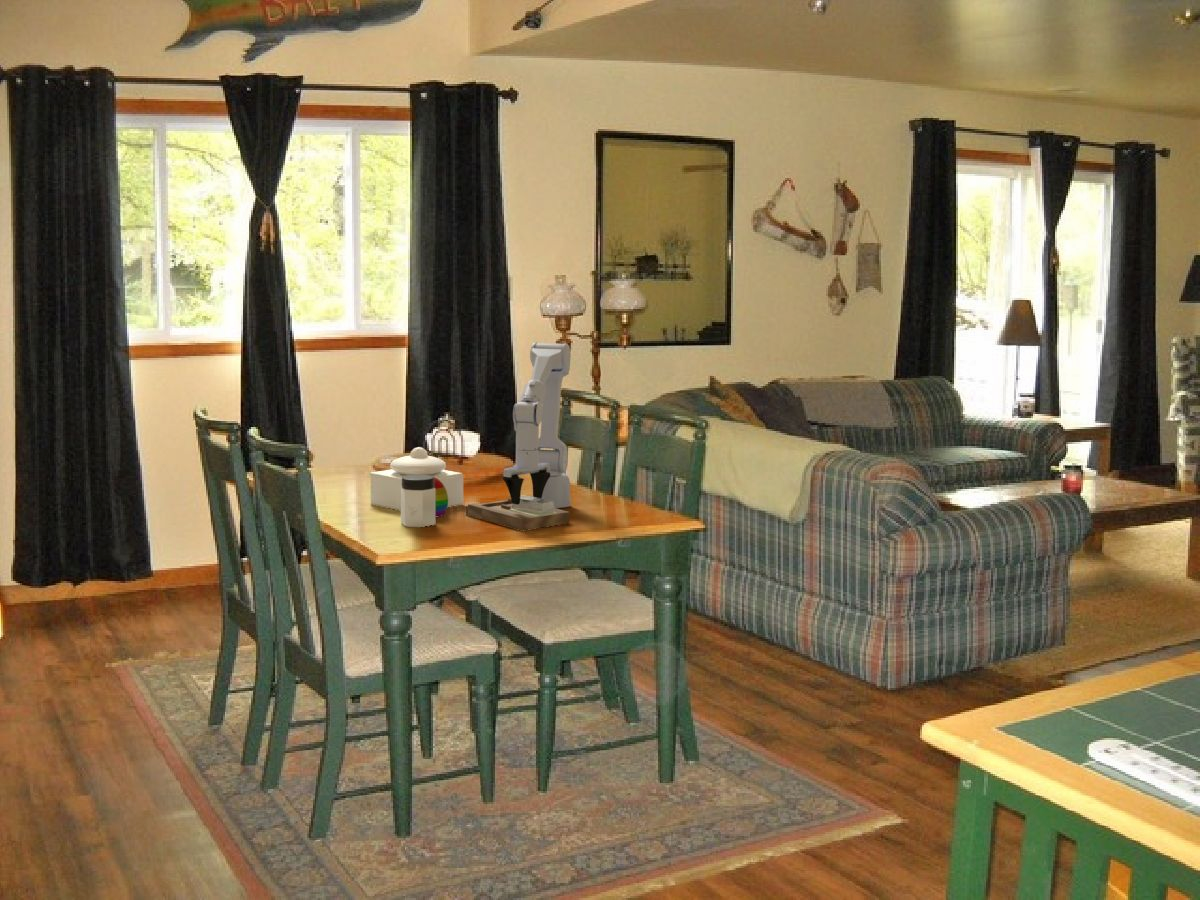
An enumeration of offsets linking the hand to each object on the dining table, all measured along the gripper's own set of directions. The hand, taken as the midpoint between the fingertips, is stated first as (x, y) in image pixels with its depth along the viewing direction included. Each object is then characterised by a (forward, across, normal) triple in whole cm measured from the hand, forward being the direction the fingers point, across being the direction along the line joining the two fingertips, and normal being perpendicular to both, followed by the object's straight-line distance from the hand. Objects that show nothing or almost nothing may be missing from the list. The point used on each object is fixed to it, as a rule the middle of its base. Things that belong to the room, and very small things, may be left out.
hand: (526, 501), depth 338 cm
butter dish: (+6, +6, -36) cm, 37 cm away
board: (+5, 0, -4) cm, 7 cm away
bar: (+2, 0, +2) cm, 3 cm away
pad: (+2, 0, +3) cm, 4 cm away
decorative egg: (+6, +12, -22) cm, 26 cm away
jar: (+5, +22, -16) cm, 28 cm away
